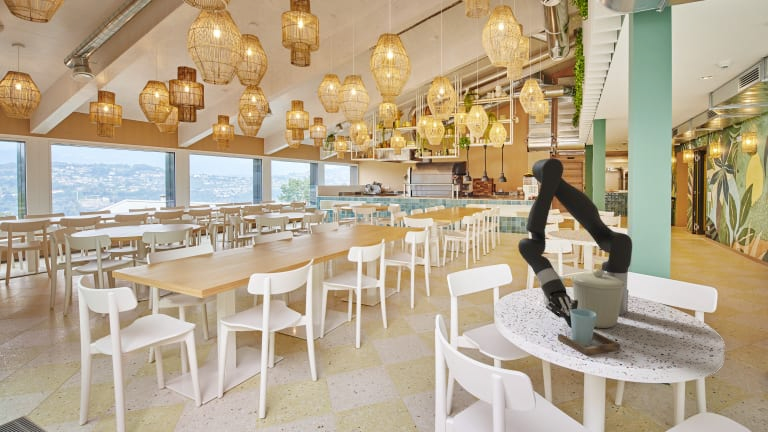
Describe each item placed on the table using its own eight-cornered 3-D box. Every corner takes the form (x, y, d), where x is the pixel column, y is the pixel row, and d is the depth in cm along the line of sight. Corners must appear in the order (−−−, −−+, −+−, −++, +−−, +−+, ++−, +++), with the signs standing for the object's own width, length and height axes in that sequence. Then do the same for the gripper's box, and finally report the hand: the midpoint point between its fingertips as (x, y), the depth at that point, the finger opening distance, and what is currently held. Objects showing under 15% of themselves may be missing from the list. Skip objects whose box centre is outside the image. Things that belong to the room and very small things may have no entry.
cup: (600, 344, 123) (601, 314, 122) (586, 349, 119) (587, 318, 118) (578, 336, 129) (579, 307, 128) (564, 341, 126) (565, 311, 125)
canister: (619, 337, 128) (622, 277, 126) (563, 324, 140) (565, 270, 138) (627, 321, 142) (630, 268, 140) (576, 311, 154) (577, 261, 152)
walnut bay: (589, 334, 130) (589, 329, 130) (619, 349, 119) (620, 343, 118) (557, 339, 127) (557, 334, 126) (586, 355, 115) (586, 349, 115)
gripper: (540, 279, 134) (564, 324, 123) (570, 276, 137) (596, 320, 127) (530, 289, 139) (552, 333, 129) (559, 286, 143) (583, 329, 132)
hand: (574, 327), depth 128 cm, fingers closed
